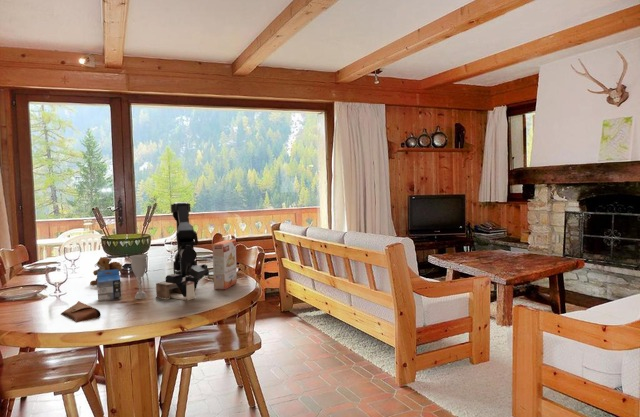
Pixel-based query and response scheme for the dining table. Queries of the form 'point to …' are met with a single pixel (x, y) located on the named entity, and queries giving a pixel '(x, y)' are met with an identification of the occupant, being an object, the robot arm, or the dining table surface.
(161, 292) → the box
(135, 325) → the dining table surface
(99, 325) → the dining table surface
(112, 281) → the label tape cartridge
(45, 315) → the dining table surface
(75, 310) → the sunglasses case
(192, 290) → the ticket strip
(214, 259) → the cracker box
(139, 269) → the chalice
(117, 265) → the stuffed squirrel
